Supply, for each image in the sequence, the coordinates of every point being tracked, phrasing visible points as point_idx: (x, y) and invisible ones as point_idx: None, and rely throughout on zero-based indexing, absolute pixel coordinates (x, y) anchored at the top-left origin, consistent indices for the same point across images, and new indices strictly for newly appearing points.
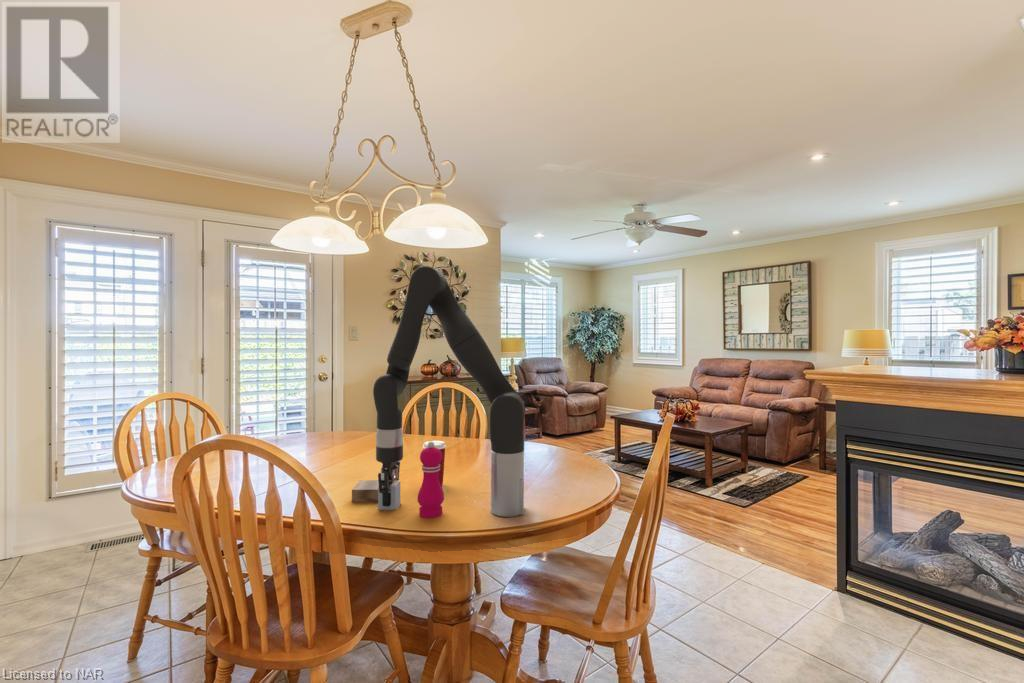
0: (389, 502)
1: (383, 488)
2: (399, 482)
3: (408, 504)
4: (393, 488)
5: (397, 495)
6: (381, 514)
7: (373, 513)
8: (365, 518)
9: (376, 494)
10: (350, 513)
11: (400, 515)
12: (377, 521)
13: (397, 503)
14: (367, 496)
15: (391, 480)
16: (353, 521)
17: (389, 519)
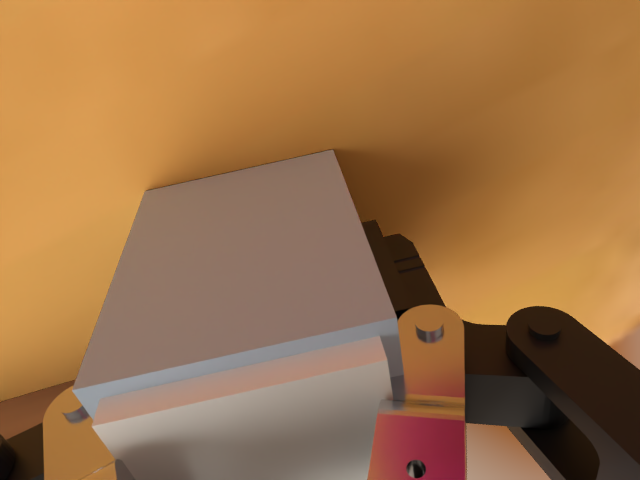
0: (381, 242)
1: (551, 412)
2: (128, 380)
3: (122, 93)
4: (392, 328)
5: (271, 236)
6: (466, 215)
7: (448, 283)
8: (557, 281)
9: None
10: None
11: (482, 17)
12: (632, 165)
13: (264, 185)
14: None
15: (461, 474)
16: (610, 320)
17: (593, 82)
